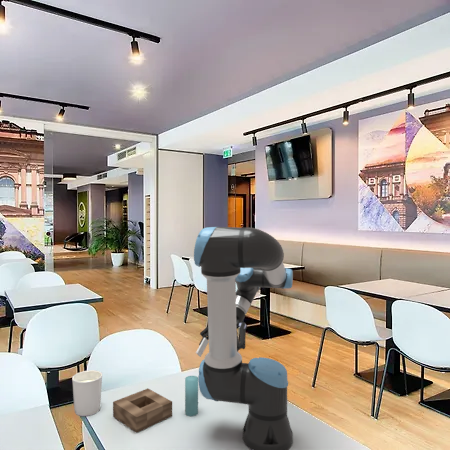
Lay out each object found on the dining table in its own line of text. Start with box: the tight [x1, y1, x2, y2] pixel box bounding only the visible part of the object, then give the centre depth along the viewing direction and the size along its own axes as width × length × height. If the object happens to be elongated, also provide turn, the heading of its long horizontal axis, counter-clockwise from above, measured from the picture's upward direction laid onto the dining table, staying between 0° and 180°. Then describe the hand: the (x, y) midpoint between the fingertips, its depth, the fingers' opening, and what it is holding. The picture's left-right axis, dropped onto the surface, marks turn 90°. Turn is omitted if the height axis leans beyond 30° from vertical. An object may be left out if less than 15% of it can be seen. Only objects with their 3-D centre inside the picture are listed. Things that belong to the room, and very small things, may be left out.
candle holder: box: [71, 370, 103, 417], centre depth 134 cm, size 10×10×12 cm
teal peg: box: [184, 375, 199, 417], centre depth 133 cm, size 4×4×12 cm
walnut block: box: [112, 388, 173, 434], centre depth 130 cm, size 14×14×5 cm
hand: (211, 359), depth 140 cm, fingers open, 13 cm apart
